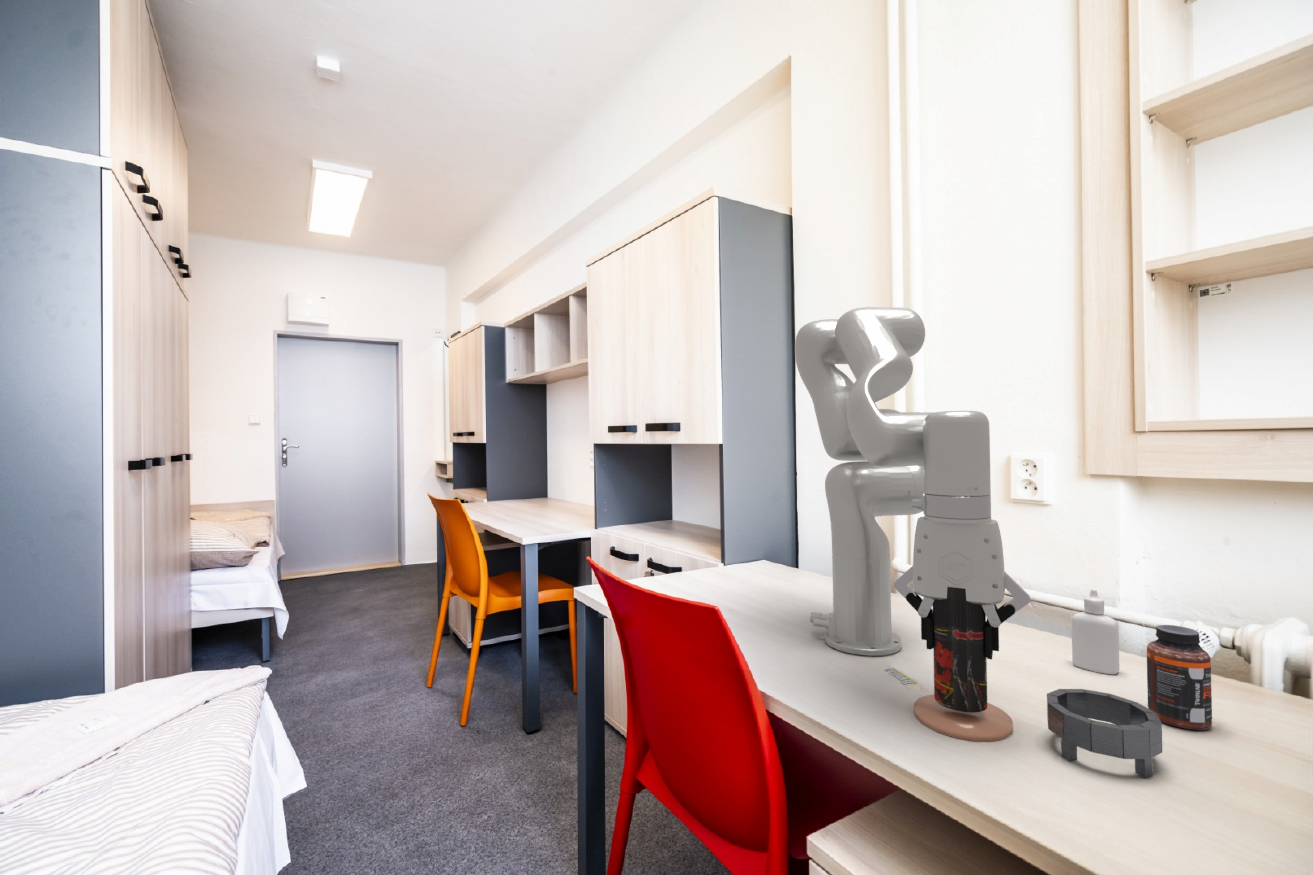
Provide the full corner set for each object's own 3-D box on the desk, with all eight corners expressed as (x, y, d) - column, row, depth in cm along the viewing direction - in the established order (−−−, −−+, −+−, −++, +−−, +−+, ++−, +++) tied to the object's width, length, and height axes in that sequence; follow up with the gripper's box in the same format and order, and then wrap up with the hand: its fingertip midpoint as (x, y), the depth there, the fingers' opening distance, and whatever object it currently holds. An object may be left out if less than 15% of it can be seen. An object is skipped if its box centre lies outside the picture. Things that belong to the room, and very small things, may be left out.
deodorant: (994, 714, 70) (992, 589, 70) (941, 710, 71) (939, 587, 71) (977, 693, 76) (975, 578, 76) (929, 689, 77) (926, 576, 77)
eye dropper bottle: (1089, 660, 92) (1088, 584, 92) (1125, 674, 86) (1123, 593, 86) (1067, 663, 91) (1065, 586, 91) (1101, 677, 85) (1099, 595, 85)
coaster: (907, 726, 71) (907, 720, 72) (920, 693, 81) (920, 687, 81) (1012, 750, 66) (1012, 743, 66) (1013, 711, 75) (1013, 705, 75)
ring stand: (1050, 761, 63) (1049, 715, 63) (1046, 723, 72) (1045, 682, 72) (1170, 788, 58) (1169, 738, 58) (1151, 744, 67) (1150, 700, 67)
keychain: (931, 688, 82) (912, 691, 81) (931, 693, 82) (912, 695, 81) (887, 661, 92) (870, 663, 91) (887, 665, 92) (870, 667, 91)
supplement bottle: (1219, 737, 68) (1216, 640, 68) (1152, 724, 71) (1150, 631, 71) (1205, 716, 73) (1203, 626, 73) (1144, 705, 76) (1141, 619, 76)
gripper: (879, 508, 75) (881, 648, 75) (1039, 515, 66) (1042, 674, 66) (890, 502, 81) (892, 631, 81) (1037, 508, 72) (1040, 653, 72)
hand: (959, 649), depth 74 cm, fingers closed on deodorant, 5 cm apart
